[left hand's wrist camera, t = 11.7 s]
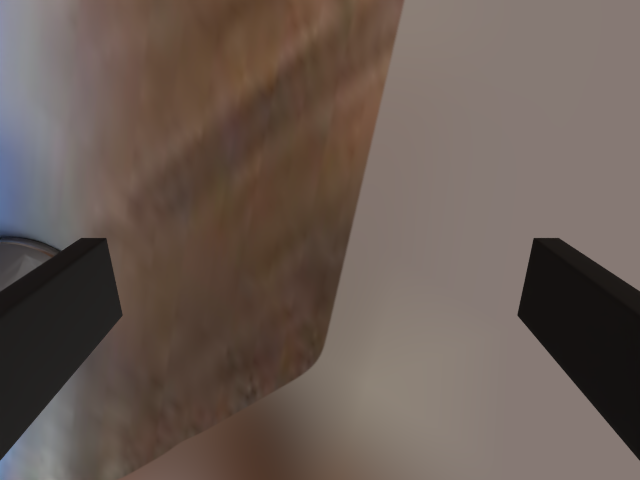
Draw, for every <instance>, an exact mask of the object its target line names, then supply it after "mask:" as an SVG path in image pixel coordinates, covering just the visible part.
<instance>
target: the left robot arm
mask: <svg viewBox="0 0 640 480" xmlns="http://www.w3.org/2000/svg"><path fill="white" fill-rule="evenodd" d="M121 317H122V310H121V306H120V301H119V296H118V291H117V287H116V282H115V277H114V273H113V268H112V263H111V258H110V254H109V249H108V244H107V240H106V238H81V239H79V240H78V241H76V242H75V243H73V244H72V245H70V246H69V247H67V248H65V249H64V250H62V251H61V252H60V251H58V250H56V249H54V248H52V247H50V246H48V245H45V244H43V243H40V242H37V241H33V240H29V239H23V238H0V460H1V459H2V458H3V457H4V456H5V454H6V453H7V452H8V451H9V450H10V448H11V447H12V446H13V445H14V444H15V442H16V441H17V440H18V439H19V438H20V437H21V435H22V434H23V433H24V432H25V431H26V429H27V428H28V427H29V426H30V425H31V423H32V422H33V421H34V420H35V419H36V418H37V416H38V415H39V414H40V413H41V412H42V410H43V409H44V408H45V407H46V406H47V404H48V403H49V402H50V401H51V400H52V399H53V397H54V396H55V395H56V394H57V393H58V391H59V390H60V389H61V388H62V387H63V385H64V384H65V383H66V382H67V381H68V380H69V378H70V377H71V376H72V375H73V374H74V372H75V371H76V370H77V369H78V368H79V366H80V365H81V364H82V363H83V362H84V361H85V359H86V358H87V357H88V356H89V355H90V353H91V352H92V351H93V350H94V349H95V347H96V346H97V345H98V344H99V343H100V342H101V340H102V339H103V338H104V337H105V336H106V334H107V333H108V332H109V331H110V330H111V328H112V327H113V326H114V325H115V324H116V323H117V321H118V320H119V319H120V318H121ZM518 317H519V318H520V319H521V320H522V321H523V323H524V324H525V325H526V326H527V327H528V328H529V330H530V331H531V332H532V333H533V334H534V336H535V337H536V338H537V339H538V340H539V342H540V343H541V344H542V345H543V346H544V347H545V349H546V350H547V351H548V352H549V353H550V355H551V356H552V357H553V358H554V359H555V361H556V362H557V363H558V364H559V365H560V366H561V368H562V369H563V370H564V371H565V372H566V374H567V375H568V376H569V377H570V378H571V380H572V381H573V382H574V383H575V384H576V385H577V387H578V388H579V389H580V390H581V391H582V393H583V394H584V395H585V396H586V397H587V398H588V400H589V401H590V402H591V403H592V404H593V406H594V407H595V408H596V409H597V410H598V412H599V413H600V414H601V415H602V416H603V417H604V419H605V420H606V421H607V422H608V423H609V425H610V426H611V427H612V428H613V429H614V431H615V432H616V433H617V434H618V435H619V437H620V438H621V439H622V440H623V441H624V442H625V444H626V445H627V446H628V447H629V448H630V450H631V451H632V452H633V453H634V454H635V455H636V457H637V458H638V459H639V460H640V291H638V290H637V289H635V288H634V287H632V286H631V285H629V284H628V283H626V282H625V281H623V280H622V279H620V278H619V277H617V276H615V275H614V274H612V273H611V272H609V271H608V270H606V269H605V268H603V267H602V266H600V265H599V264H597V263H596V262H594V261H593V260H591V259H590V258H588V257H587V256H585V255H584V254H582V253H581V252H579V251H578V250H576V249H575V248H573V247H571V246H570V245H568V244H567V243H565V242H564V241H562V240H561V239H559V238H534V240H533V244H532V249H531V254H530V259H529V263H528V268H527V273H526V277H525V282H524V287H523V291H522V296H521V301H520V306H519V310H518Z"/></svg>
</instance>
